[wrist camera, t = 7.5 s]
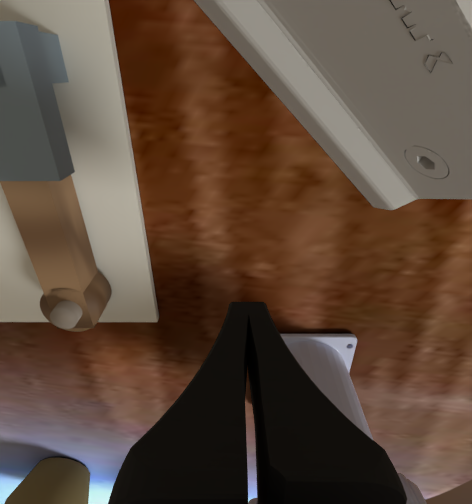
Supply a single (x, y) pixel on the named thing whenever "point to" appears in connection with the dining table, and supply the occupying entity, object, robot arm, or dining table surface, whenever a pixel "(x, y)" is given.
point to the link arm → (59, 251)
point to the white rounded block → (369, 85)
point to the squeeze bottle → (53, 484)
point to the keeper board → (70, 149)
